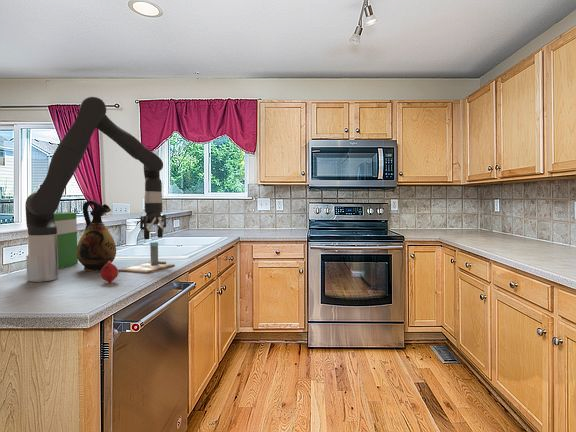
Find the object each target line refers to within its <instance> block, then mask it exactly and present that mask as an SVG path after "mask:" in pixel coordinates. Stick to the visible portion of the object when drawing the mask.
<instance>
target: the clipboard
mask: <svg viewBox="0 0 576 432" xmlns="http://www.w3.org/2000/svg"><path fill="white" fill-rule="evenodd" d="M175 265H176V264H175V263H167V261H165V260H164V261H162V260H158V265H151V261H150V262H143V263H139V264H136V265H131V266H128V267H123V268H117V269H118V272H122V273H123V272H124V273H133V274H134V273H135V274H152V273H155V272H159V271H162V270H166V269H169V268H172V267H175Z"/></svg>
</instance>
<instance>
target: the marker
mask: <svg viewBox="0 0 576 432" xmlns="http://www.w3.org/2000/svg"><path fill="white" fill-rule="evenodd" d="M149 246H150V247H149V249H150V263H151V265H158V261H159V242H158V241H150V242H149Z"/></svg>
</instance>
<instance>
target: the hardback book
mask: <svg viewBox="0 0 576 432" xmlns="http://www.w3.org/2000/svg"><path fill="white" fill-rule="evenodd" d="M54 221H55V225H56V227H57V248H58V270H60V269H64V268H67V267H70V266H74V265H76V264H79V261H78V258H77V246H78V229H77V227H78V225H77V222H78V221H77V212H54Z"/></svg>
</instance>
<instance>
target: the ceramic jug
mask: <svg viewBox="0 0 576 432" xmlns="http://www.w3.org/2000/svg"><path fill="white" fill-rule="evenodd" d="M89 206H93V209H92V210H90V213H89ZM111 211H112V209H111V208H110V206H109V205H108V204H106V203H105V204H103V205H102V203H98V201H96V200H94V199H91V200H90V199H89V200H86V201H85V202H84V204H83V205H82V213H83V214H82V215H83V217H84V221H85V228H84V232H83V233H82V235H81V236H80V238H79V241H78V242H77V258H78V263H80V264H81V265H82V266H83V270H85V271H86V272H101V269H102V268H103V267H104V266H105V265H106V264H107V263H108V262H109V261H111V264H113V262H114V260H115V259H116V256H117V245H116V243H115V239H114V237H113V236H112V234H111V232H110V231H109V229H108V228H107V226H106V225H105V224H104V222H103V220H102V216H103V215H105V214H107V213H110V212H111ZM90 215H91V216H92V220H91V217H90Z"/></svg>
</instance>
